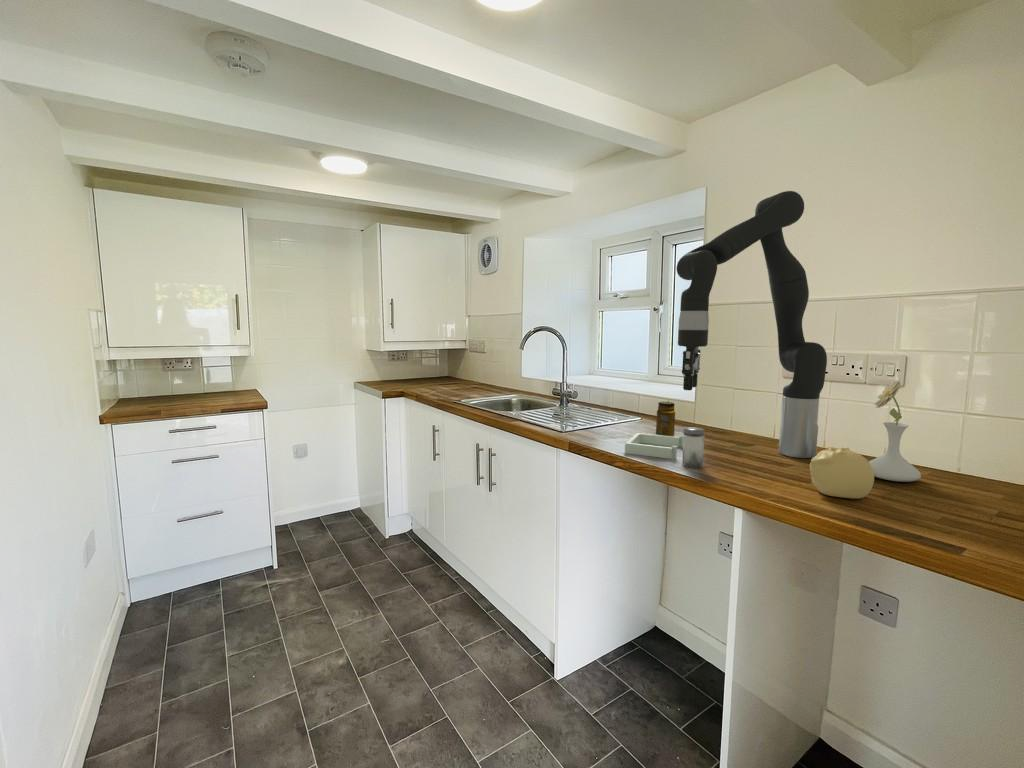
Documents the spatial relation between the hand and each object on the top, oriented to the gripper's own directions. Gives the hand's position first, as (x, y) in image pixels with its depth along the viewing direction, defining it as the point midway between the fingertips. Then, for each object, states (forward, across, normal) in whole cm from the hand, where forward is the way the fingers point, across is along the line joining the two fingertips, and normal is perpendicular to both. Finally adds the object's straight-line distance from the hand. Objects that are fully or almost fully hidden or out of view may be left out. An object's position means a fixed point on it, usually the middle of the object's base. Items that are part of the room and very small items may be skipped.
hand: (690, 388), depth 129 cm
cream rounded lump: (+21, -9, -34) cm, 41 cm away
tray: (+21, +11, +10) cm, 26 cm away
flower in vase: (+21, +10, -47) cm, 52 cm away
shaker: (+21, -2, -2) cm, 21 cm away
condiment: (+21, +30, +12) cm, 38 cm away
